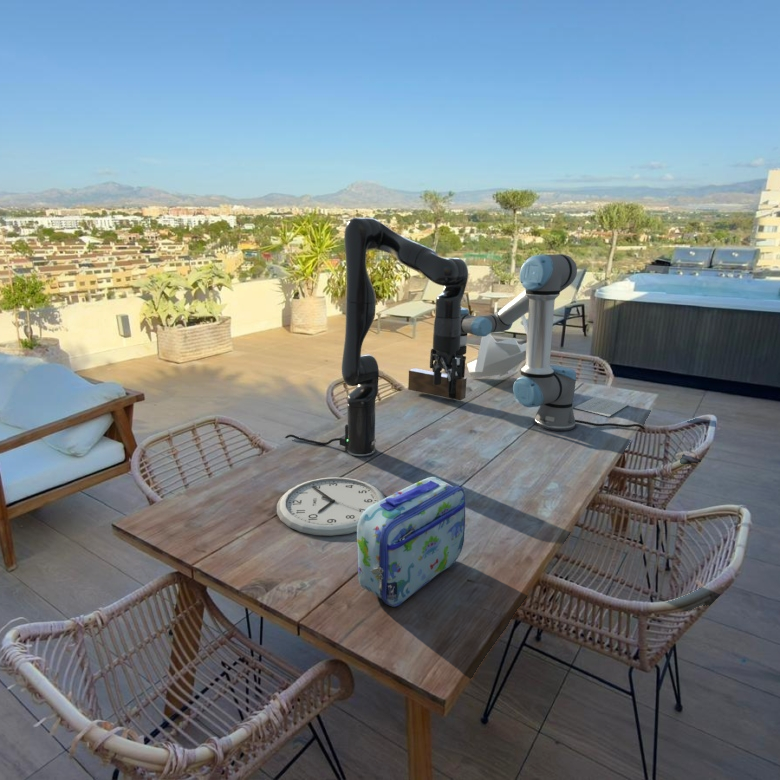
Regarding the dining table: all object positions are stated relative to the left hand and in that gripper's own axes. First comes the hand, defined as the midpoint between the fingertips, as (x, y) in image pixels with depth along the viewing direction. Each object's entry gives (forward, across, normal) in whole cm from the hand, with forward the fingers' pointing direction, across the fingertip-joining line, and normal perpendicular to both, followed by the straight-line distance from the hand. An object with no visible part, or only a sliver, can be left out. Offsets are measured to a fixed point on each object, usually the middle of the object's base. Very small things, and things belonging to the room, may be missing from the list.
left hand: (444, 388), depth 149 cm
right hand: (+27, -65, +42) cm, 82 cm away
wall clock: (+29, +2, -34) cm, 45 cm away
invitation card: (+29, -35, +98) cm, 109 cm away
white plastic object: (+29, -78, +79) cm, 115 cm away
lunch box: (+29, +38, -28) cm, 56 cm away
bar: (+28, -73, +37) cm, 86 cm away
